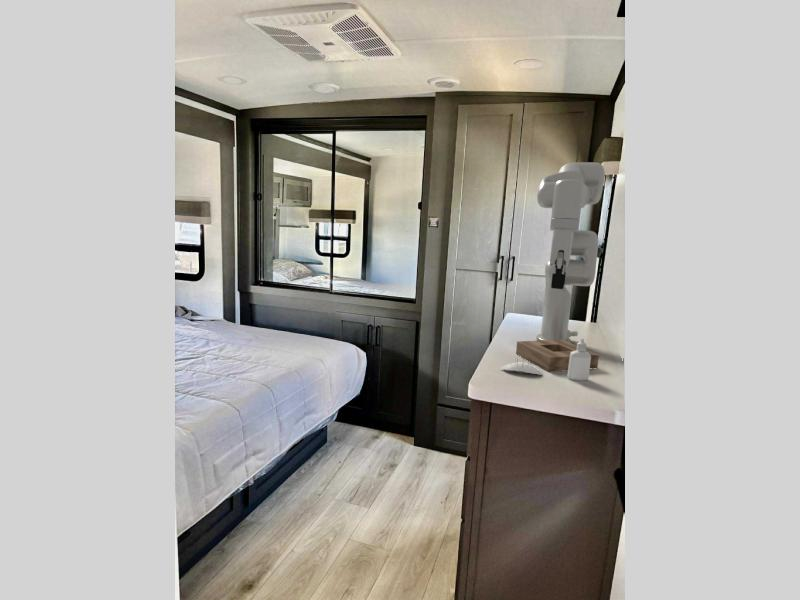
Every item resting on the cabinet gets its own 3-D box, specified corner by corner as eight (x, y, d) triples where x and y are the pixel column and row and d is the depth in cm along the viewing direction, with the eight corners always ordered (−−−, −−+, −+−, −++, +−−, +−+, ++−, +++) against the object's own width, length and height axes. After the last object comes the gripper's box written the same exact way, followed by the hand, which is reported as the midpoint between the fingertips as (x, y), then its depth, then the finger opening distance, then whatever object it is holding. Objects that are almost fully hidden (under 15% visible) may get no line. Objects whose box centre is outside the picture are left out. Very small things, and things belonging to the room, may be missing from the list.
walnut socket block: (560, 352, 157) (562, 339, 156) (597, 368, 140) (599, 354, 139) (515, 354, 151) (517, 341, 150) (548, 371, 134) (549, 357, 133)
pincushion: (499, 373, 131) (501, 355, 130) (501, 367, 137) (503, 349, 136) (542, 379, 128) (544, 360, 127) (542, 373, 134) (544, 354, 133)
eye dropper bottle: (586, 383, 126) (592, 342, 124) (566, 378, 129) (570, 338, 127) (589, 378, 130) (594, 338, 128) (568, 374, 132) (573, 335, 130)
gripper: (552, 225, 133) (546, 282, 136) (548, 224, 117) (541, 288, 120) (579, 227, 130) (572, 285, 133) (579, 225, 115) (571, 291, 117)
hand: (557, 286), depth 127 cm, fingers open, 9 cm apart
